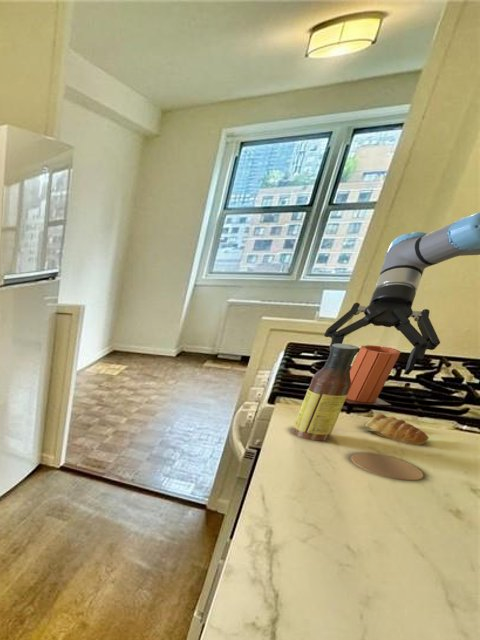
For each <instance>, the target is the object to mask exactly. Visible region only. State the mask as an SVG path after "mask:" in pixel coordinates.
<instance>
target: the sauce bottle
mask: <svg viewBox="0 0 480 640" xmlns="http://www.w3.org/2000/svg"><path fill="white" fill-rule="evenodd" d="M359 350H360V347H359V346H357V345H353V344H349V343H342V344H333V345H332V347H331V349H330V350H329V355H328V357H327V360H326V361H325V363H324V366H323V367H322V368H321V369H319V370H317V371H316V372H315V374H314V375H313V377H312V379H311V381H310V383H309V384H310V385H309V387H308V388H307V390H306V393H305V396H304V398H303V401H302V403H301V407H300V409H299V412H298V414H297V417H296V420H295V422H294V425H293V434H295V435H296V436H298V437H300V438H302V439H306V440H309V441H315V442H316V441H317V442H324V441H327V440H328V439H329V438H330V436H331V434H332V433H333V431H334V427H335V425H336V423H337V420H338V418H339V415H340V413H341V411H342V409H343V406H344V404H345V403H346V401H345V399H346V397H347V394H348V392H349V388H350V385H351V379H350V369H351V367H352V364H353V362H354V361H353V360H354V359H355V356H357V354H358V352H359Z"/></svg>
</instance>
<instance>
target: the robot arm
mask: <svg viewBox="0 0 480 640" xmlns="http://www.w3.org/2000/svg"><path fill="white" fill-rule="evenodd" d="M462 256H463V257H465V256H480V211H478V212H476V213H474V214H471V215H468V216H465V217H461V218H460V219H457V220H456V221H454V222H451V223H449V224H447V225H445V226H443V227H440V228H438V229H436V230H433V231H431V232H429V233H427V232H422V231H414V232H412V233H404V234H402V235H399V236H398V237H396V238H395V239H393V240H392V241H391V243H390V245H389V247H388V249H387V251H386V253H385V255H384V259H383V264H382V266H381V270H380V273H379V275H378V278H377V281H376V284H375V287H374V289H373V293H372V295H371V298H370V301H369V304H368V305H367V306H364V305H361V304H360V303H359V302H355V303H353V304H352V307H351V308H350V310H349V311H347V312H346V313H344V315H342V316H341V317H340V318H339V319H337V320H336V321H335V322H334V323H332V324H331V325H330V326H329V327H327V329H326V330H325V332H324V333H323V336H324V337H325V338H331V341H330V343H329V347H328V350H329V351H330V349H331V347H332V345H333V344H343V342H344V340H345V337H346V336H348V335H349V334H352V333H354V332H356V331H358V330H360V329H361V328H365V327H367V326H369V325H371V324H372V325H373V326H374V327H384V328H392V327H394V328H395V329H396V331H399V332H400V333H401V334H402V335H403V337H404V338H406V340H407V341H409V343H410V344H411V345H412V346H413V348H412V349H411V351H410V354H409V357H408V360H407V363H406V366H405V369H404V372H403V375H407V376H409V375H410V374H411V373H412V372H413V370H414V369H415V365H416V363H419V362H421V361H422V360H423V359H424V357H425V354H426V351H427V350H429V351H433V350H436V348H437V347H438V346H439V345H440V344H441V340H440V339H439V335H438V334H437V332H436V329H435V328H434V325H433V324H432V321H431V320H430V309H427V308H424V309H422V310H419V311H418V310H413V309H412V306H413V304H414V300H415V298H416V295H417V291H418V289H419V286H420V282H421V279H422V278H423V277H422V276H423V274H424V271H425V269H426V268H428V267H431V266H435V265H438V264H440V263H442V262H445V261H448V260H450V259H453V258H457V257H462ZM361 313H363V314H364V316H363V317H362V318H360V319H358V320H356V321H354V322H352V323H351V324H349V325H346V326H344V325H345V324H346V323H348V322H349V321H350V320H351V319H352V318H353V317H354V316H357V315H359V314H361ZM410 318H413V320H414V322H416V324H417V325H416V326H417V327H418V329H419V331H418V330H417V329H416V328H415V326H414V325H413V324H412V323H411V320H410ZM343 326H344V327H343ZM341 327H343V328H341ZM340 328H341V329H340Z"/></svg>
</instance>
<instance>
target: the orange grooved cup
mask: <svg viewBox="0 0 480 640" xmlns="http://www.w3.org/2000/svg"><path fill="white" fill-rule="evenodd" d="M400 355H401V350H399V349H396V348H392V347H388V346H383V345H382V346H381V345H373V344H367V345H365V344H363V345H361V346H360V347H359V349H358V352H357V354H356V355H355V356H356V357H354V361H353V362H352V364H351V367H350V369H349V371H350V379H351V385H350V388H349V392H348V394H347V397H346V398H347V399H350V400H354V401H355V400H356V401H360V402H375V401H376V399H377V398H379V395H380V394H381V392H382V390H383V388H384V386H385V384H386V382H387V380H388V378H389V376H390V374H391V372H392V370H393V368H394V366H395V365H396V363H397V361H398V359H399V357H400Z"/></svg>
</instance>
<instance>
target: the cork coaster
mask: <svg viewBox="0 0 480 640" xmlns="http://www.w3.org/2000/svg"><path fill="white" fill-rule="evenodd" d="M350 460H351V461H352V462H353V463H354V464H355V465H356V466H357V467H359V468H361V469H363V470H365V471H366V472H367V471H368V472H369V473H372V474H375V475H378V476H381V477H385V478H389V479H395V480H401V481H418V480H421V479H422V478H423V477H424V473H423V471H422V470H421V469H419V468H418V467H417V466H415V465H413V464H411V463H409V462H406V461H404V460H401V459H398V458H395V457H392V456H388V455H382V454H377V453H372V452H371V453H370V452H369V453H368V452H359V453H355V454H353V455H352V456H351V459H350Z"/></svg>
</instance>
